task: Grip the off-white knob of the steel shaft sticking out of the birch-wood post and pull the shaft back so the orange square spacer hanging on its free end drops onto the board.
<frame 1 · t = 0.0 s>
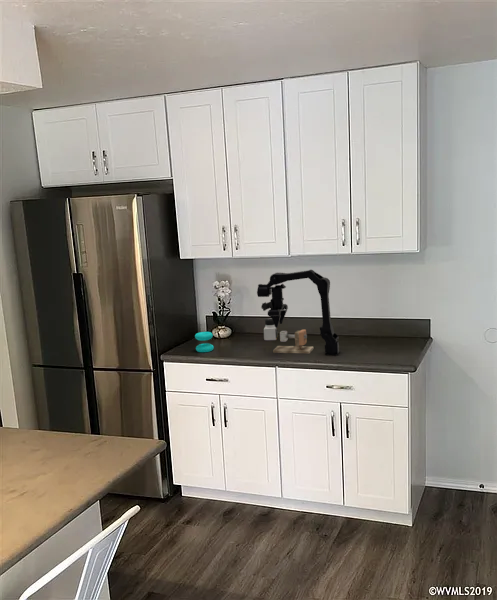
hand: (278, 325, 323), 15 cm above the table, tool pointing down, fingers open, 9 cm apart
shaft: (293, 336, 325), point 8 cm above the table, slide at 0.0 cm, touching spacer
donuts: (204, 350, 339), on the table
medicine bottle: (271, 339, 357), on the table
spacer: (303, 343, 324), point 4 cm above the table, touching shaft
bracket: (293, 350, 327), on the table
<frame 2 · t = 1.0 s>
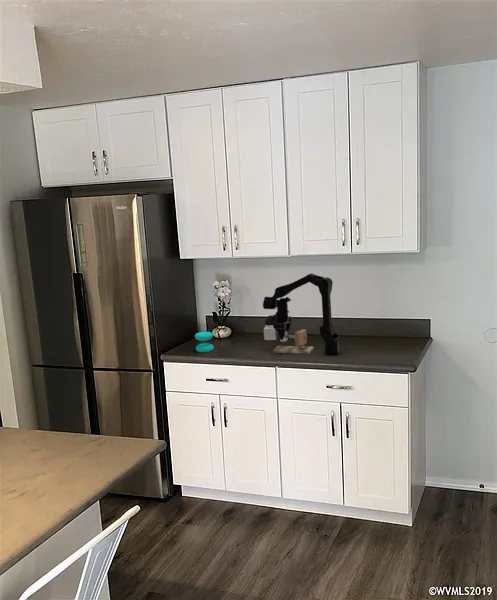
hand: (283, 337, 327), 7 cm above the table, tool pointing down, fingers open, 9 cm apart
nothing on the table moved.
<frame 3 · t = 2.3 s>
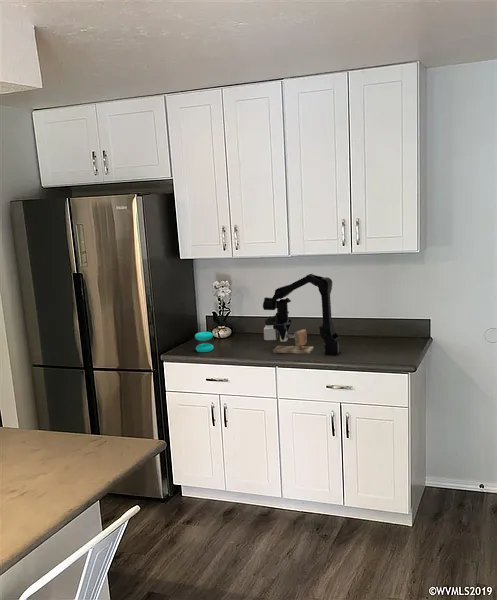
hand: (283, 338, 327), 7 cm above the table, tool pointing down, fingers closed on shaft, 4 cm apart
shaft: (293, 336, 325), point 8 cm above the table, slide at 0.0 cm, touching gripper, spacer
everything else where it was.
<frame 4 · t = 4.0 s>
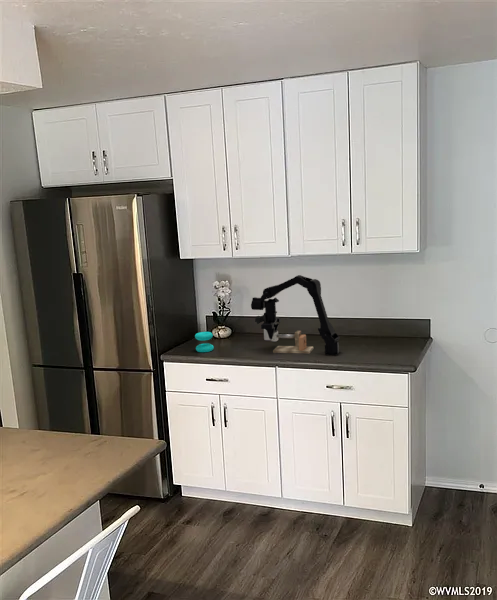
hand: (271, 338, 329), 7 cm above the table, tool pointing down, fingers closed on shaft, 4 cm apart
shaft: (284, 336, 327), point 8 cm above the table, slide at 5.1 cm, touching gripper
spacer: (302, 348, 325), point 1 cm above the table, touching bracket
everything else where it was.
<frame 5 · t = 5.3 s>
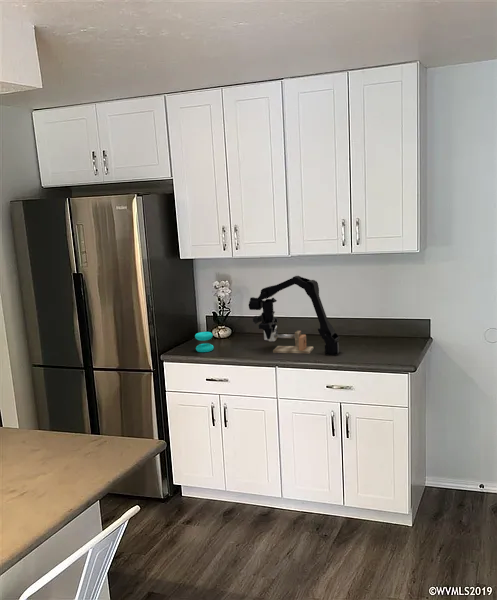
hand: (269, 338, 330), 7 cm above the table, tool pointing down, fingers closed on shaft, 4 cm apart
shaft: (282, 336, 327), point 8 cm above the table, slide at 6.4 cm, touching gripper
everything else where it was.
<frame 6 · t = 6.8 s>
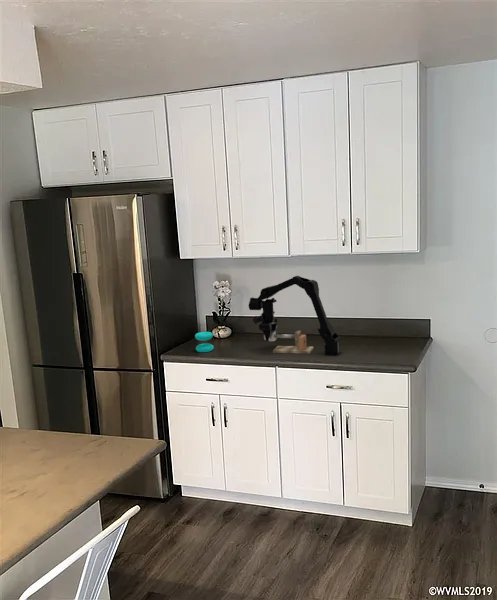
hand: (269, 338, 330), 7 cm above the table, tool pointing down, fingers open, 9 cm apart
shaft: (282, 336, 327), point 8 cm above the table, slide at 6.4 cm
everything else where it was.
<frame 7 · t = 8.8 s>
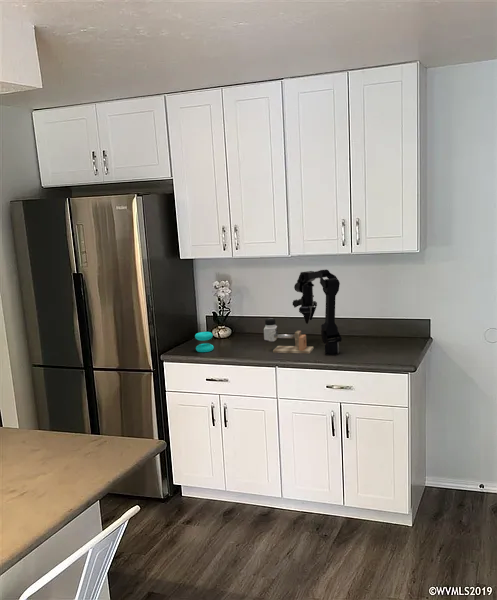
hand: (308, 321, 336), 13 cm above the table, tool pointing down, fingers open, 9 cm apart
nothing on the table moved.
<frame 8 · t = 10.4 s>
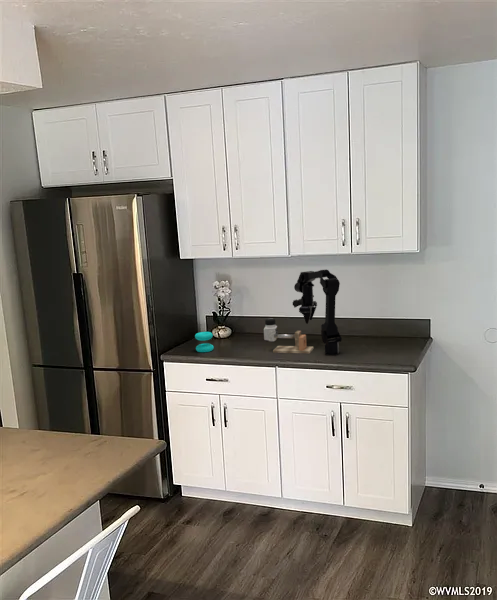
hand: (308, 321, 336), 13 cm above the table, tool pointing down, fingers open, 9 cm apart
nothing on the table moved.
at the end: shaft slide at 6.4 cm; spacer point 1.2 cm above the table; spacer touching bracket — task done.
